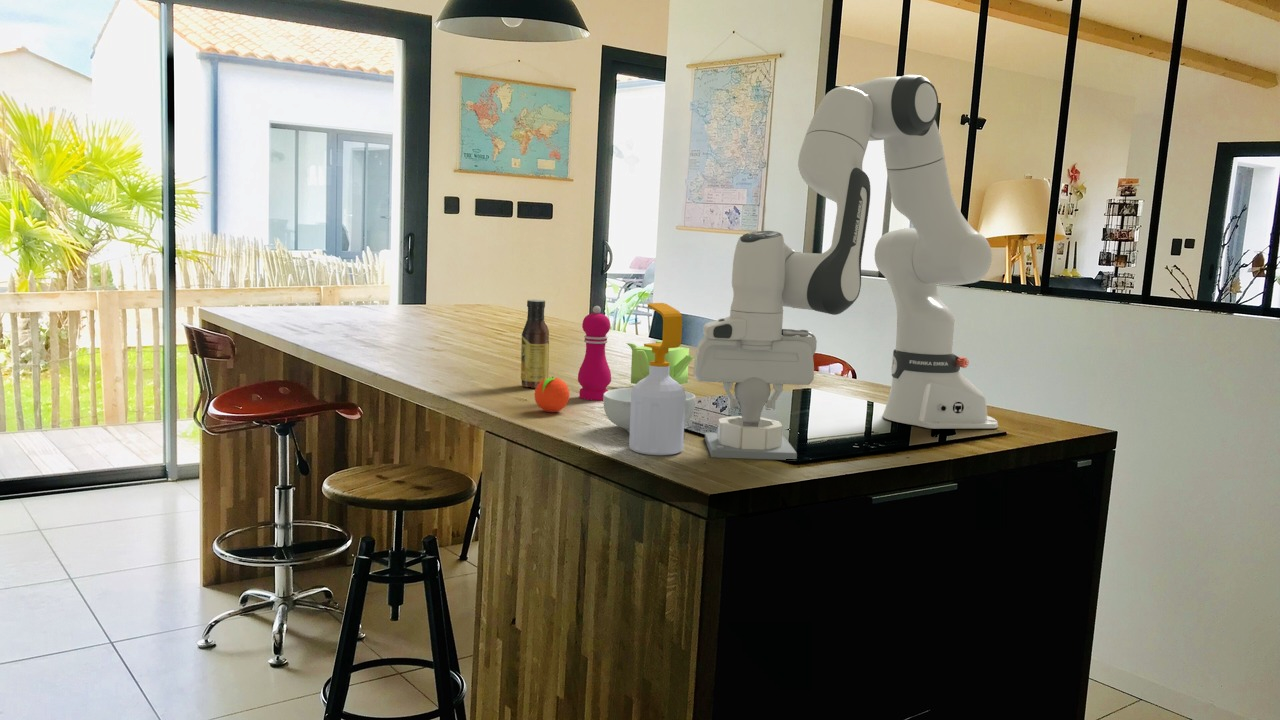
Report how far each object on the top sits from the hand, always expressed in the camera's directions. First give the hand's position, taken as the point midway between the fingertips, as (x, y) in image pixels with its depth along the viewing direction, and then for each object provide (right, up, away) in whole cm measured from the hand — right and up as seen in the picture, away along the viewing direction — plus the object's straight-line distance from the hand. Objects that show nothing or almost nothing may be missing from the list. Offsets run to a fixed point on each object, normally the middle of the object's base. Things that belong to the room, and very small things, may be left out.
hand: (751, 408), depth 166 cm
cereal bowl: (-18, -5, +12) cm, 22 cm away
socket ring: (0, -6, +1) cm, 6 cm away
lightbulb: (0, -5, 0) cm, 5 cm away
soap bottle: (-16, -7, -2) cm, 18 cm away
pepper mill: (-29, 0, +45) cm, 53 cm away
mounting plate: (0, -7, +1) cm, 7 cm away
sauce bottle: (-43, +2, +57) cm, 71 cm away
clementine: (-37, -2, +27) cm, 46 cm away
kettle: (-15, +1, +61) cm, 63 cm away
